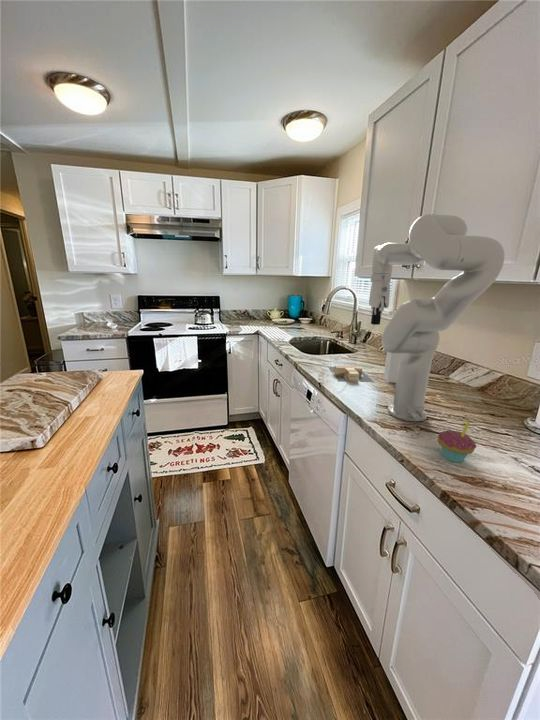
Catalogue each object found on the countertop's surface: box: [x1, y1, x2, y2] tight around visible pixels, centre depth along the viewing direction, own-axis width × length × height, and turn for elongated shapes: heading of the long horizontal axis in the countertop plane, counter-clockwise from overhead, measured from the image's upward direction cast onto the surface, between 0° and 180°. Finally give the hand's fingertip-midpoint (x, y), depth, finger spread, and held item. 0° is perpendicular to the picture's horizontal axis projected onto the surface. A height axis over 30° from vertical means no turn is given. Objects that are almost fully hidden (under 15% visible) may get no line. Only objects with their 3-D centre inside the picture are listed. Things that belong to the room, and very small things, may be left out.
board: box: [327, 366, 375, 383], centre depth 142 cm, size 22×16×1 cm
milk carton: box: [383, 351, 405, 384], centre depth 133 cm, size 7×7×19 cm
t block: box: [333, 365, 363, 383], centre depth 136 cm, size 12×12×4 cm
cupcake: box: [436, 419, 477, 463], centre depth 78 cm, size 9×8×12 cm
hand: (375, 324), depth 124 cm, fingers closed
